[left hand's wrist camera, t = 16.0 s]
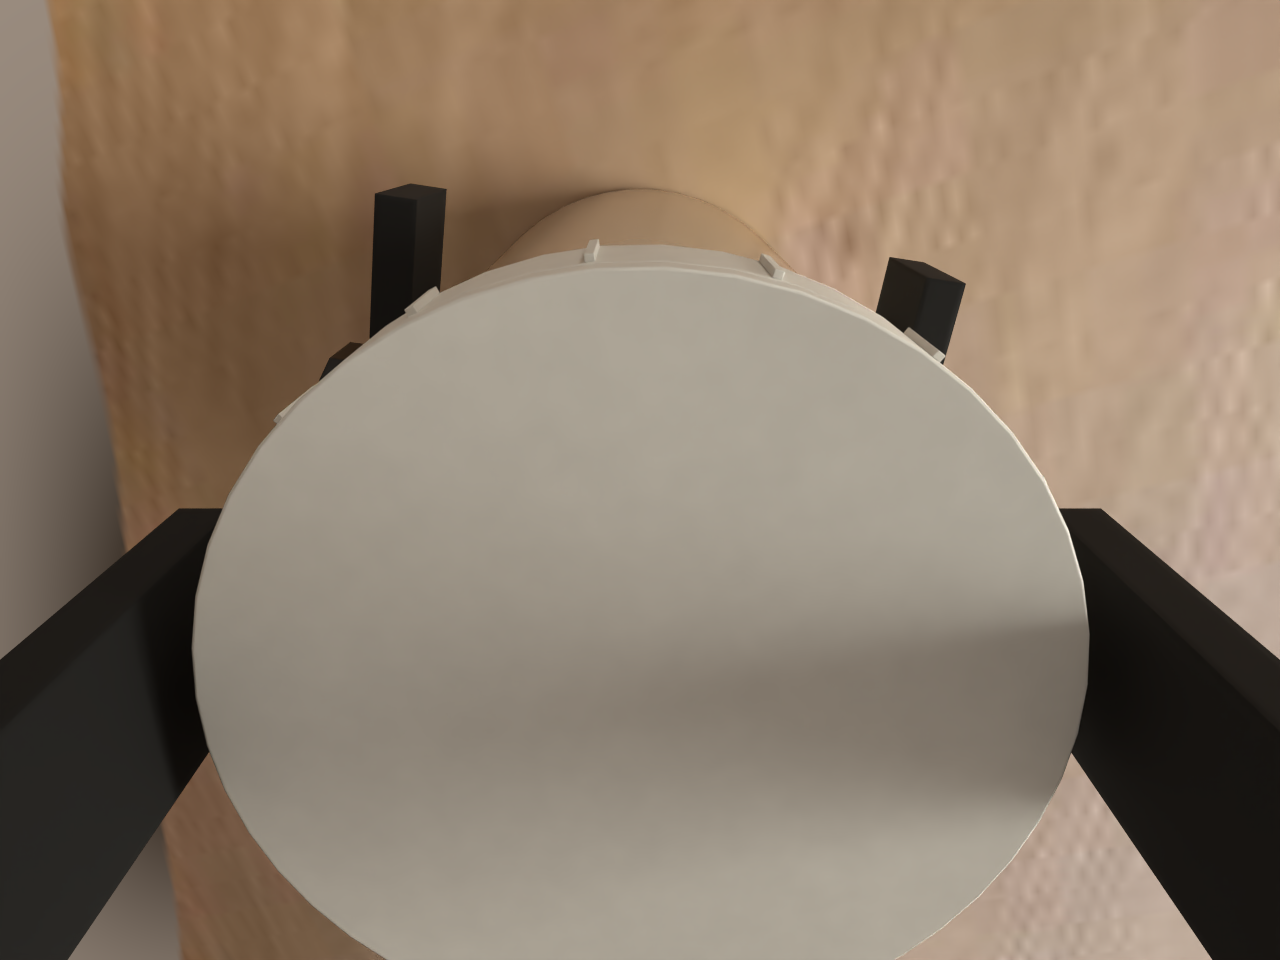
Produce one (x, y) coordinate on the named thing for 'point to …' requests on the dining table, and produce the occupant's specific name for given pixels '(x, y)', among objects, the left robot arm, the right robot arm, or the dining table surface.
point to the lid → (640, 624)
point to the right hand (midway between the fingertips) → (672, 230)
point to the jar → (639, 227)
